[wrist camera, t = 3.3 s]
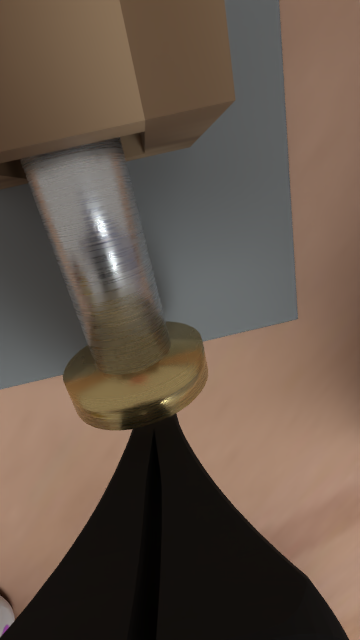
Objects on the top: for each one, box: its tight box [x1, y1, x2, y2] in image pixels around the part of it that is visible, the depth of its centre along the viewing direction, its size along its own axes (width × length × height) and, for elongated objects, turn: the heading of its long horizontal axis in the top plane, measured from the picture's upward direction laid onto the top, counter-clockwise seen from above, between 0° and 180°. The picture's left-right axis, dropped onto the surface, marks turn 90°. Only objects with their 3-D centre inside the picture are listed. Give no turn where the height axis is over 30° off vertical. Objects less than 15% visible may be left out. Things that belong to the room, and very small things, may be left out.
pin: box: [20, 137, 208, 430], centre depth 7 cm, size 4×12×4 cm, turn 12°
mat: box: [0, 0, 298, 389], centre depth 8 cm, size 12×19×1 cm, turn 12°
